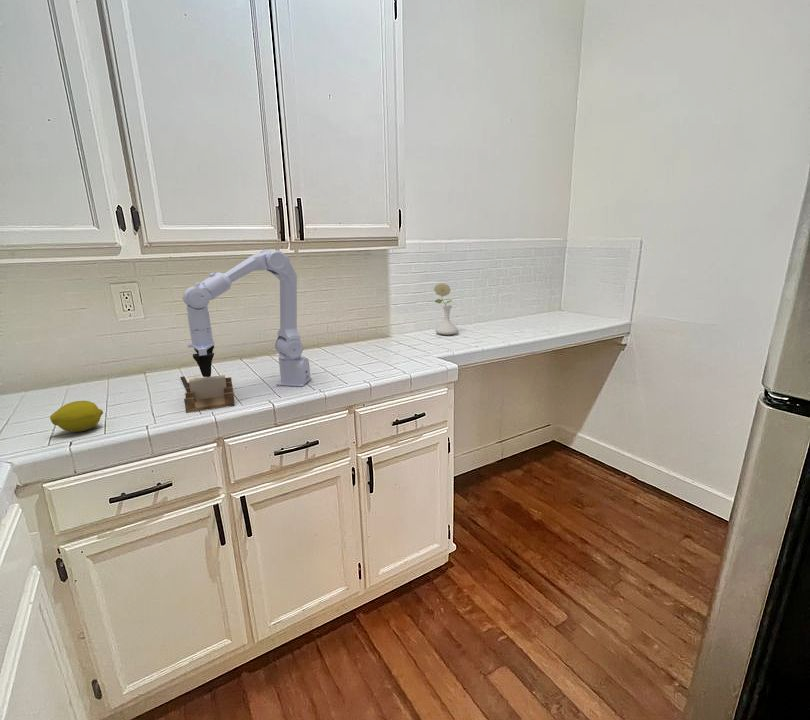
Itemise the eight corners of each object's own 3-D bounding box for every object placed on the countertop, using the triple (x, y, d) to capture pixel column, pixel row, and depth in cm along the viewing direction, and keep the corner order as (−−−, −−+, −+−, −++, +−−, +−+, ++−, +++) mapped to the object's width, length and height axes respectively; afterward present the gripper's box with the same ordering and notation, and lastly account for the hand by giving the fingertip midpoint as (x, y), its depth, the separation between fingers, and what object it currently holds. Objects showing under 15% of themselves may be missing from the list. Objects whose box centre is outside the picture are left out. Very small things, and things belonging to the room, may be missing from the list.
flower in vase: (462, 332, 218) (463, 282, 211) (452, 337, 208) (453, 284, 201) (438, 330, 224) (439, 281, 217) (428, 334, 215) (428, 283, 208)
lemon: (108, 421, 120) (101, 393, 118) (103, 432, 113) (97, 403, 111) (59, 429, 115) (52, 400, 113) (51, 441, 109) (43, 411, 106)
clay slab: (227, 393, 137) (224, 375, 135) (227, 395, 134) (225, 377, 133) (192, 398, 133) (189, 379, 131) (191, 400, 131) (188, 381, 129)
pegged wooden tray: (232, 388, 144) (231, 377, 142) (234, 405, 129) (232, 392, 128) (189, 394, 139) (187, 382, 138) (186, 412, 125) (183, 399, 123)
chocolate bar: (187, 391, 140) (180, 376, 154) (187, 394, 140) (180, 379, 155) (217, 386, 144) (207, 372, 159) (217, 388, 145) (207, 374, 159)
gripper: (186, 325, 133) (193, 367, 137) (183, 335, 120) (191, 381, 124) (211, 323, 135) (217, 364, 139) (211, 332, 122) (218, 378, 126)
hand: (207, 372), depth 132 cm, fingers open, 7 cm apart
